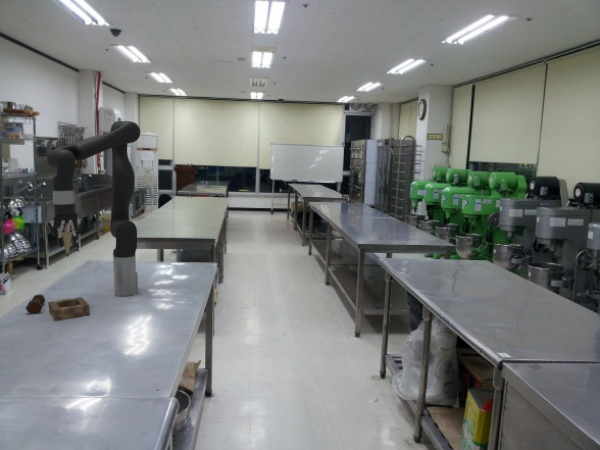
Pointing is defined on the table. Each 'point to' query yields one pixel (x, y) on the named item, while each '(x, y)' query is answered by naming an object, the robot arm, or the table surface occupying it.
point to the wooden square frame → (68, 308)
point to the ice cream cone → (67, 236)
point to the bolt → (35, 304)
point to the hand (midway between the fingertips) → (67, 245)
